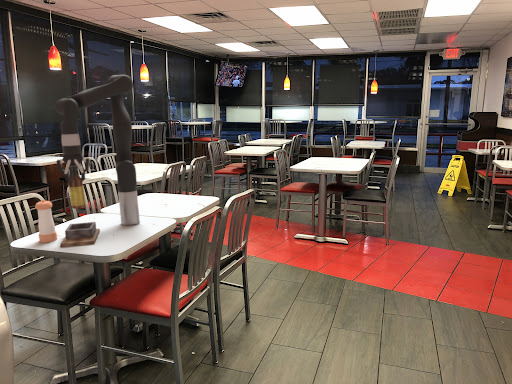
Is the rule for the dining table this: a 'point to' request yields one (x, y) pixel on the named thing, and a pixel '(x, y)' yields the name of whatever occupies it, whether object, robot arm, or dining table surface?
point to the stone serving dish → (80, 234)
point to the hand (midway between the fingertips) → (75, 181)
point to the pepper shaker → (46, 222)
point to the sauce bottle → (76, 189)
